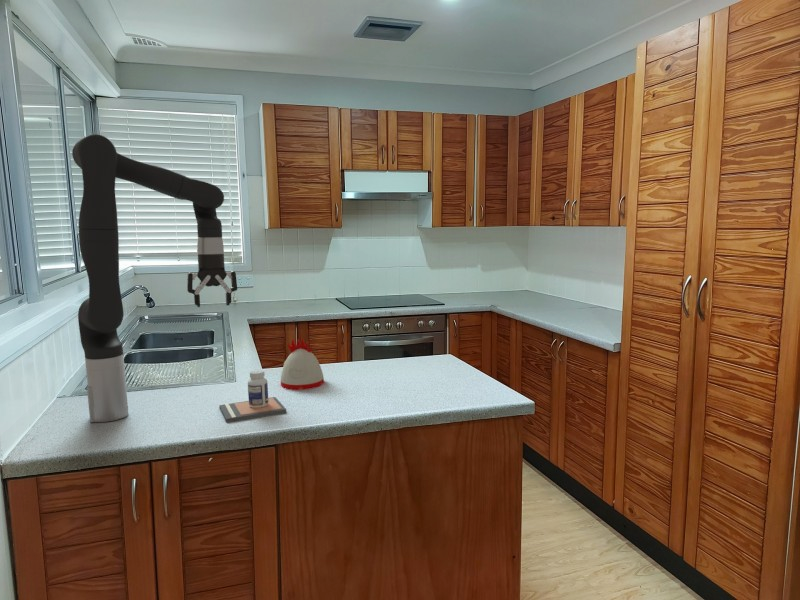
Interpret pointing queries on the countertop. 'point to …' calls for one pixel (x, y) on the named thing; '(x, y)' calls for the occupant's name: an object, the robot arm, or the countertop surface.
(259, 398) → the pill bottle
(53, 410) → the countertop surface
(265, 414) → the line mat
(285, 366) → the white and red dome
